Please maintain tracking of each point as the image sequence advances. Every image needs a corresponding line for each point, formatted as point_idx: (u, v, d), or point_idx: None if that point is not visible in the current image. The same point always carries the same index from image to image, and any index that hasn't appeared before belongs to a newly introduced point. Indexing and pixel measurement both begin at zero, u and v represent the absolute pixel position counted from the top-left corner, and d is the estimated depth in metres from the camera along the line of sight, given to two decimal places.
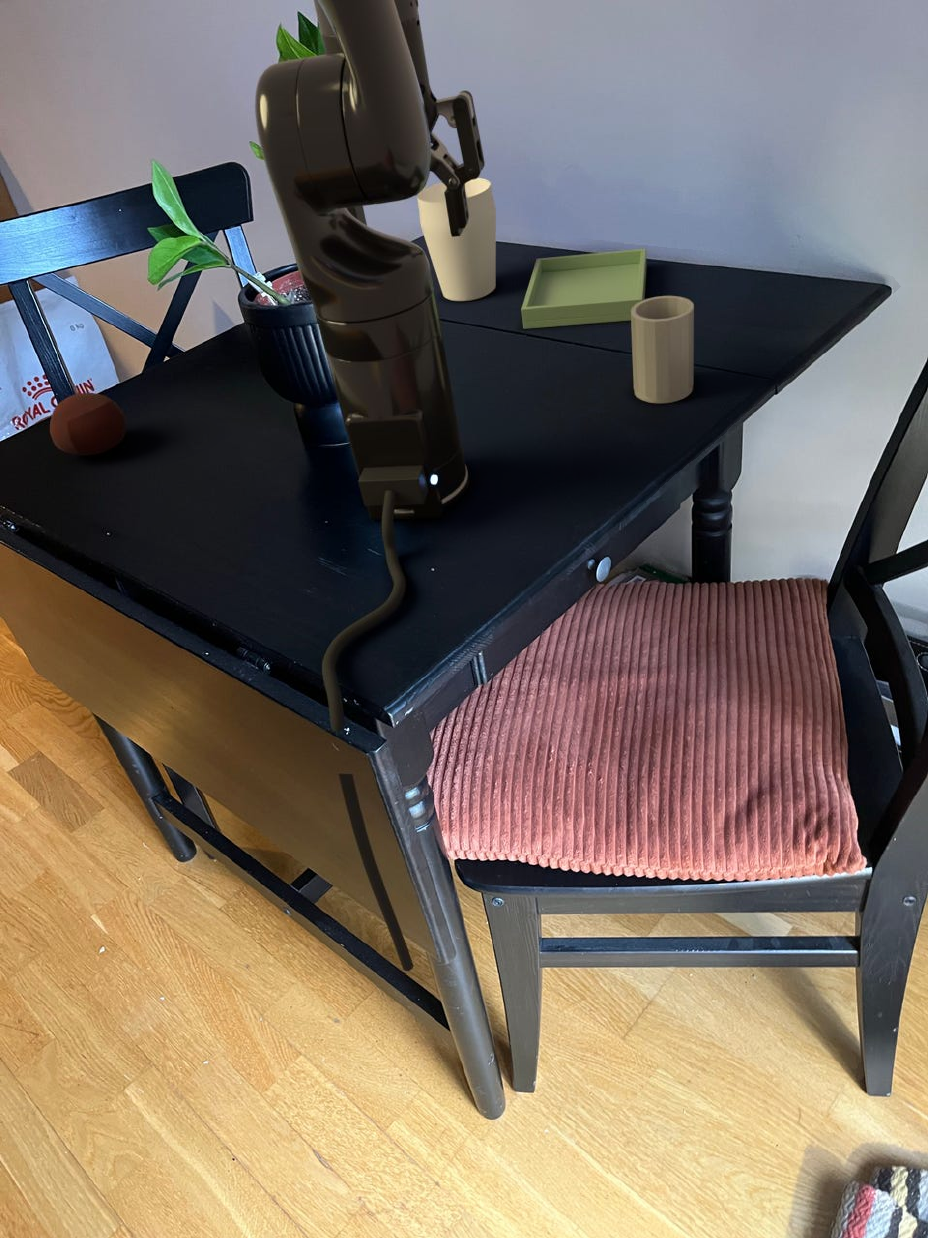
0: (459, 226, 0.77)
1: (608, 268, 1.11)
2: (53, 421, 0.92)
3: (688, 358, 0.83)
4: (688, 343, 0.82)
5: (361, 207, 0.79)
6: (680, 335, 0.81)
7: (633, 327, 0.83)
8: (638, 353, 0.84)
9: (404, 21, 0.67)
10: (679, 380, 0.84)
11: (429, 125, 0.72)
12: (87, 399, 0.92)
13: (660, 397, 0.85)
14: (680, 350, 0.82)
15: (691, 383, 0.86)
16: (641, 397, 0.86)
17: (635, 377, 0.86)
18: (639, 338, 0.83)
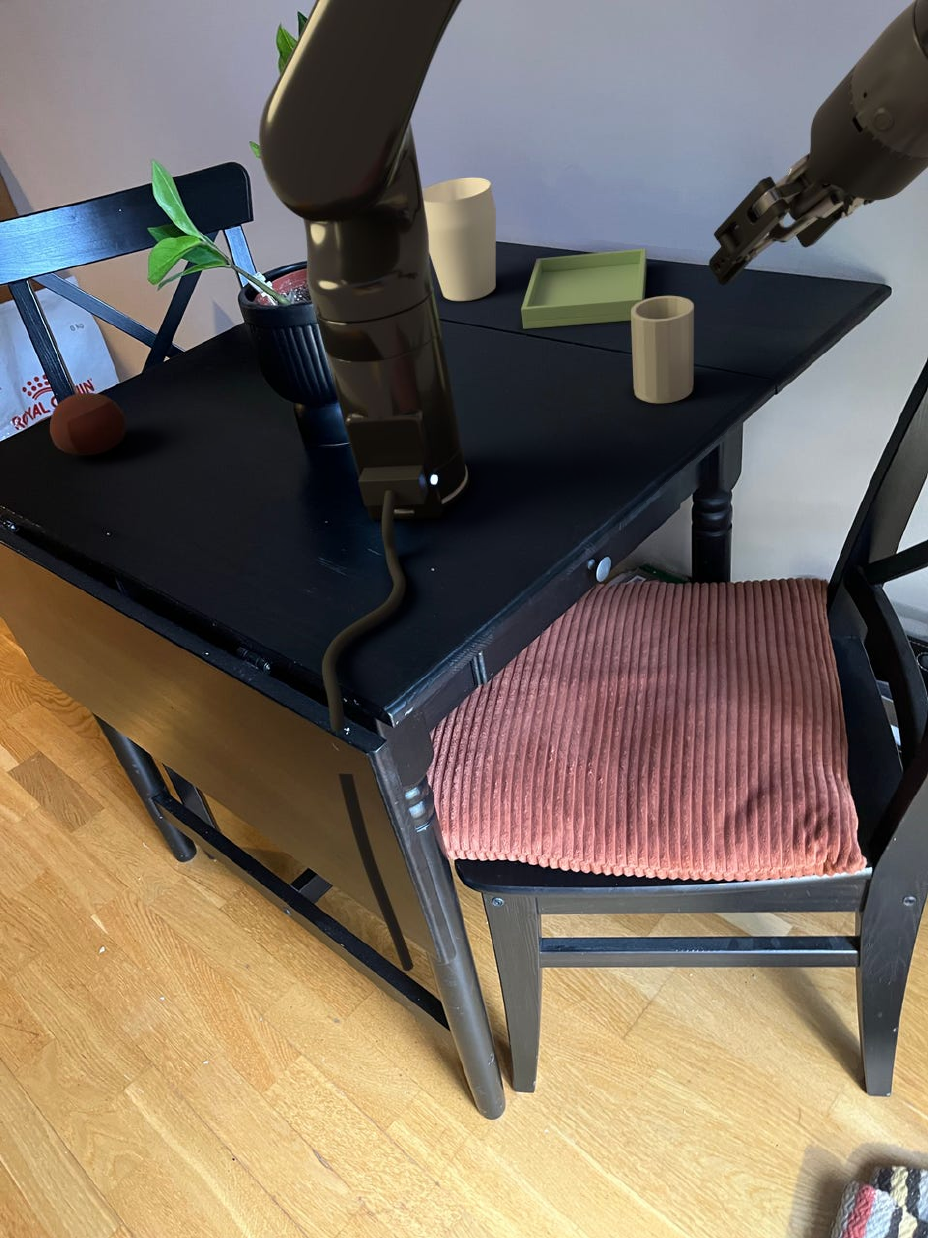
0: None
1: (608, 268, 1.11)
2: (53, 421, 0.92)
3: (688, 358, 0.83)
4: (688, 343, 0.82)
5: (823, 223, 0.69)
6: (680, 335, 0.81)
7: (633, 327, 0.83)
8: (638, 353, 0.84)
9: (852, 89, 0.54)
10: (679, 380, 0.84)
11: None
12: (87, 399, 0.92)
13: (660, 397, 0.85)
14: (680, 350, 0.82)
15: (691, 383, 0.86)
16: (641, 397, 0.86)
17: (635, 377, 0.86)
18: (639, 338, 0.83)
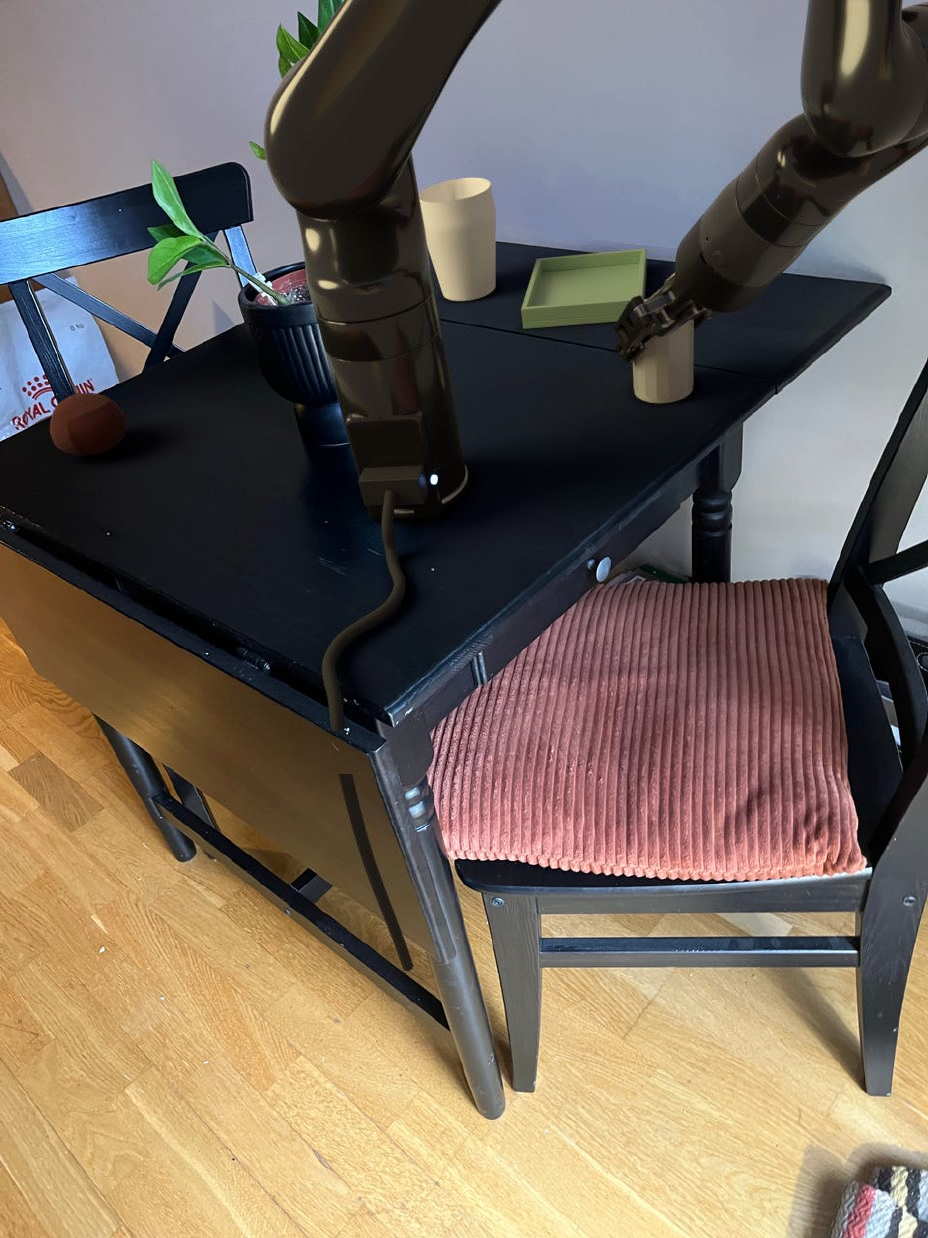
0: None
1: (608, 268, 1.11)
2: (53, 421, 0.92)
3: (688, 358, 0.83)
4: (688, 343, 0.82)
5: None
6: (680, 335, 0.81)
7: None
8: None
9: (700, 232, 0.69)
10: (679, 380, 0.84)
11: None
12: (87, 399, 0.92)
13: (660, 397, 0.85)
14: (680, 350, 0.82)
15: (691, 383, 0.86)
16: (641, 397, 0.86)
17: (635, 377, 0.86)
18: None
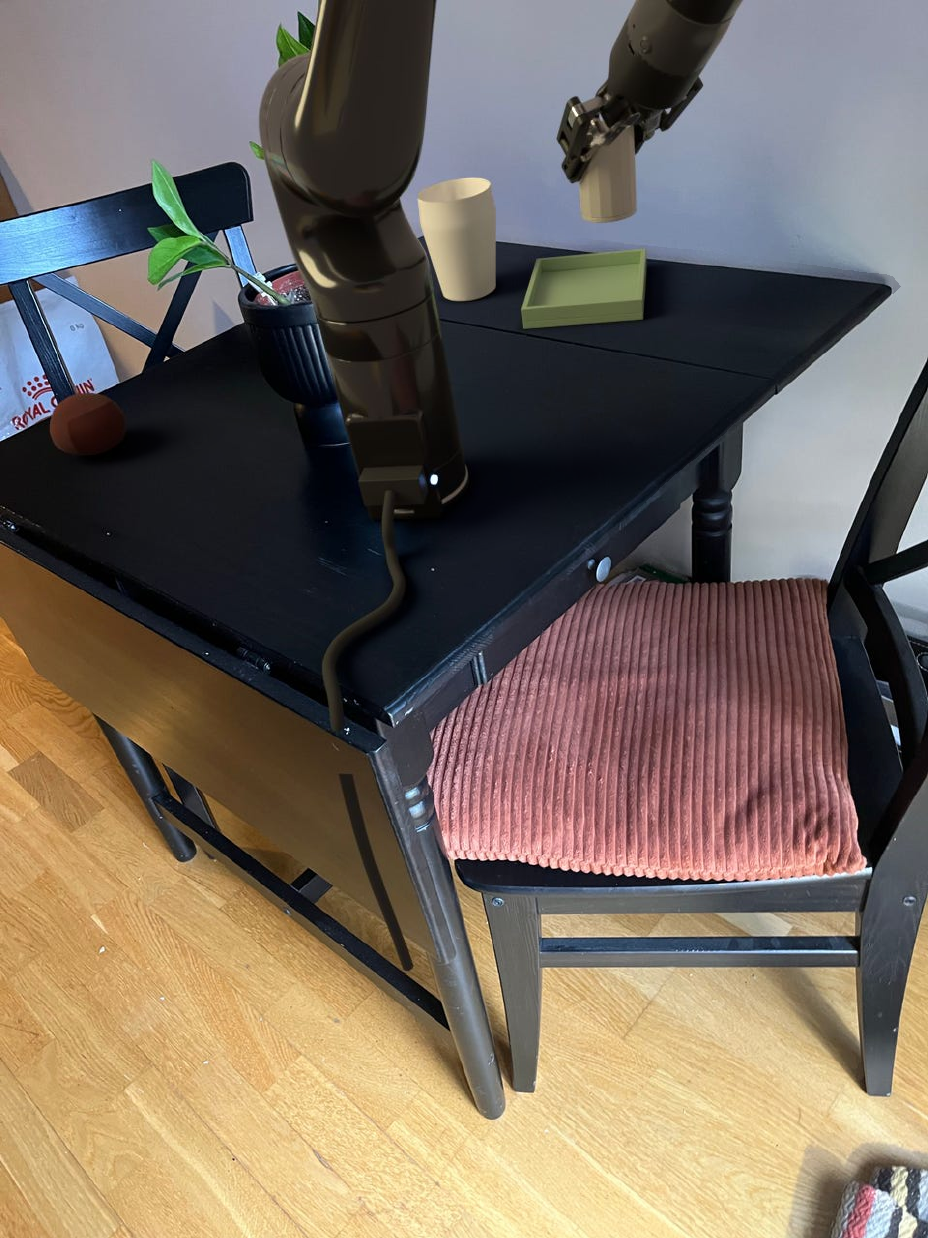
0: None
1: (608, 268, 1.11)
2: (53, 421, 0.92)
3: (629, 175, 0.88)
4: (629, 159, 0.87)
5: None
6: (620, 149, 0.86)
7: None
8: None
9: (628, 23, 0.74)
10: (621, 198, 0.89)
11: None
12: (87, 399, 0.92)
13: (604, 216, 0.90)
14: (621, 165, 0.87)
15: (634, 203, 0.90)
16: (587, 218, 0.91)
17: (581, 199, 0.91)
18: None
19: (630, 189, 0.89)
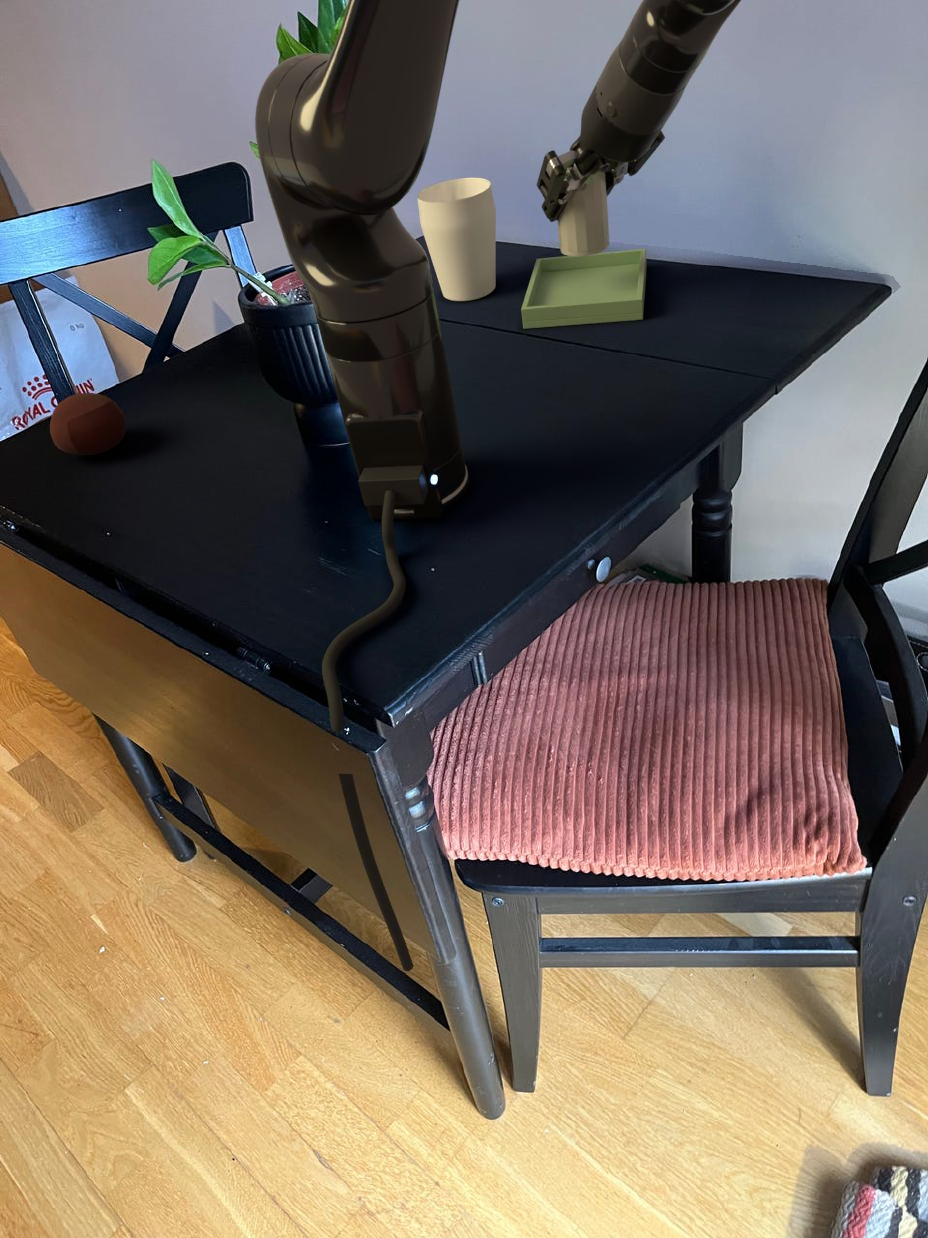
0: None
1: (608, 268, 1.11)
2: (53, 421, 0.92)
3: (602, 215, 1.00)
4: (601, 201, 0.99)
5: None
6: (593, 193, 0.97)
7: None
8: None
9: (596, 90, 0.86)
10: (595, 234, 1.00)
11: None
12: (87, 399, 0.92)
13: (580, 250, 1.01)
14: (594, 206, 0.98)
15: (606, 239, 1.02)
16: (565, 252, 1.02)
17: (560, 235, 1.02)
18: None
19: (603, 227, 1.00)
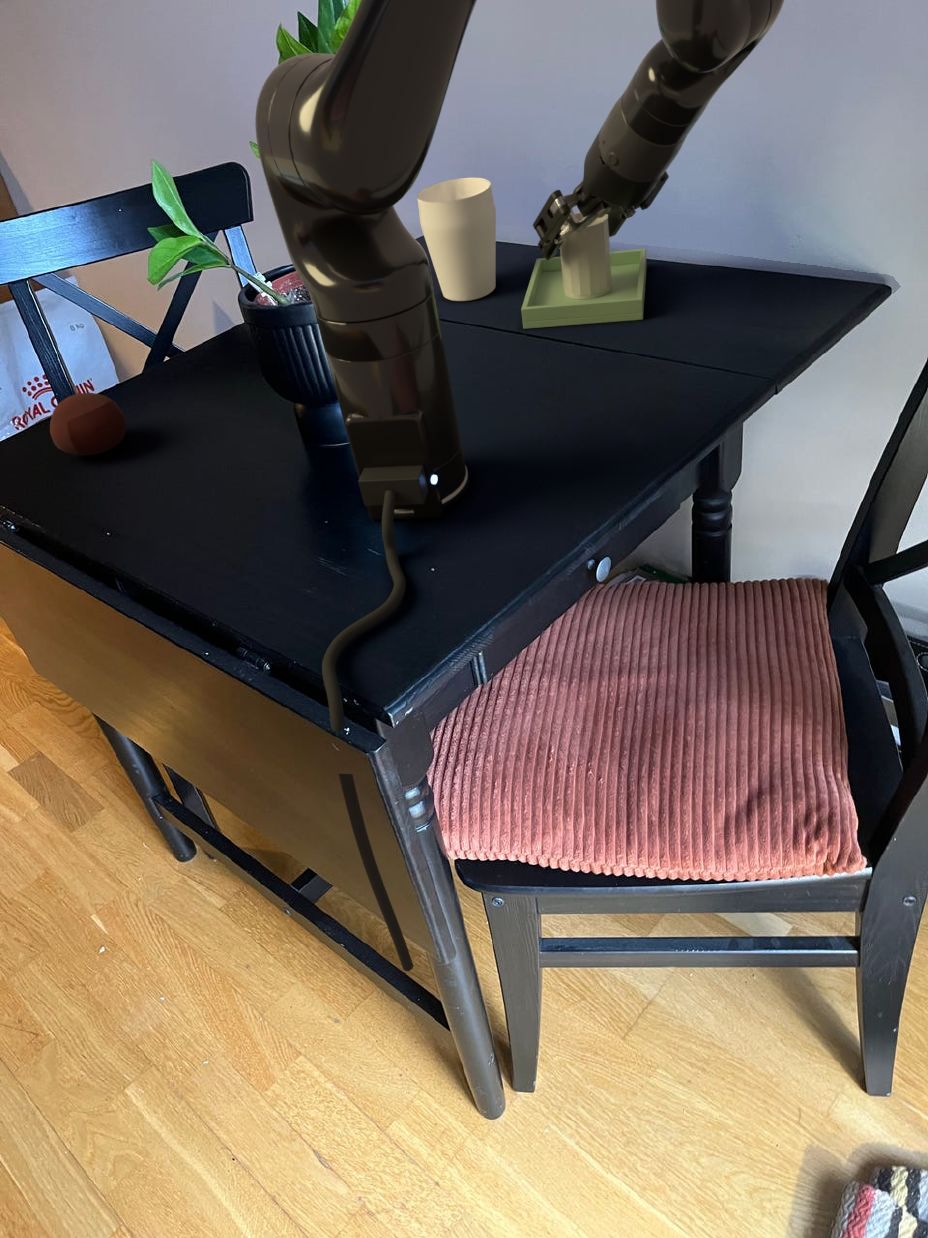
0: None
1: None
2: (53, 421, 0.92)
3: (605, 260, 1.03)
4: (604, 247, 1.02)
5: (616, 221, 1.03)
6: (596, 240, 1.01)
7: None
8: (564, 257, 1.03)
9: (599, 138, 0.88)
10: (598, 279, 1.03)
11: None
12: (87, 399, 0.92)
13: (583, 294, 1.04)
14: (597, 253, 1.01)
15: (609, 283, 1.05)
16: (569, 295, 1.06)
17: (564, 278, 1.05)
18: (564, 243, 1.02)
19: (605, 271, 1.03)
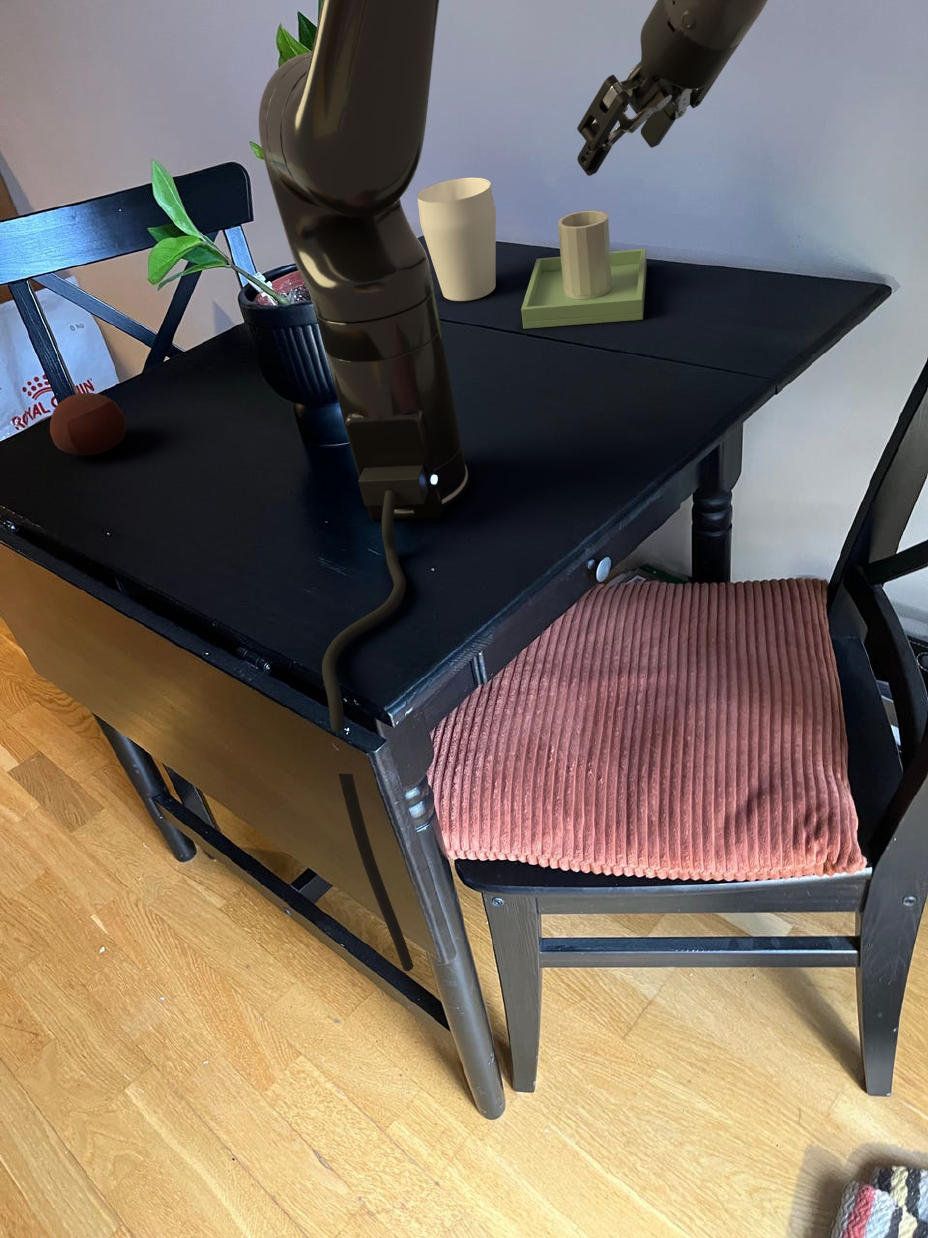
0: None
1: None
2: (53, 421, 0.92)
3: (605, 260, 1.03)
4: (604, 247, 1.02)
5: (663, 124, 0.87)
6: (596, 240, 1.01)
7: (560, 235, 1.02)
8: (564, 257, 1.03)
9: (665, 1, 0.72)
10: (598, 279, 1.03)
11: None
12: (87, 399, 0.92)
13: (583, 294, 1.04)
14: (597, 253, 1.01)
15: (609, 283, 1.05)
16: (569, 295, 1.06)
17: (564, 278, 1.05)
18: (564, 243, 1.02)
19: (605, 271, 1.03)
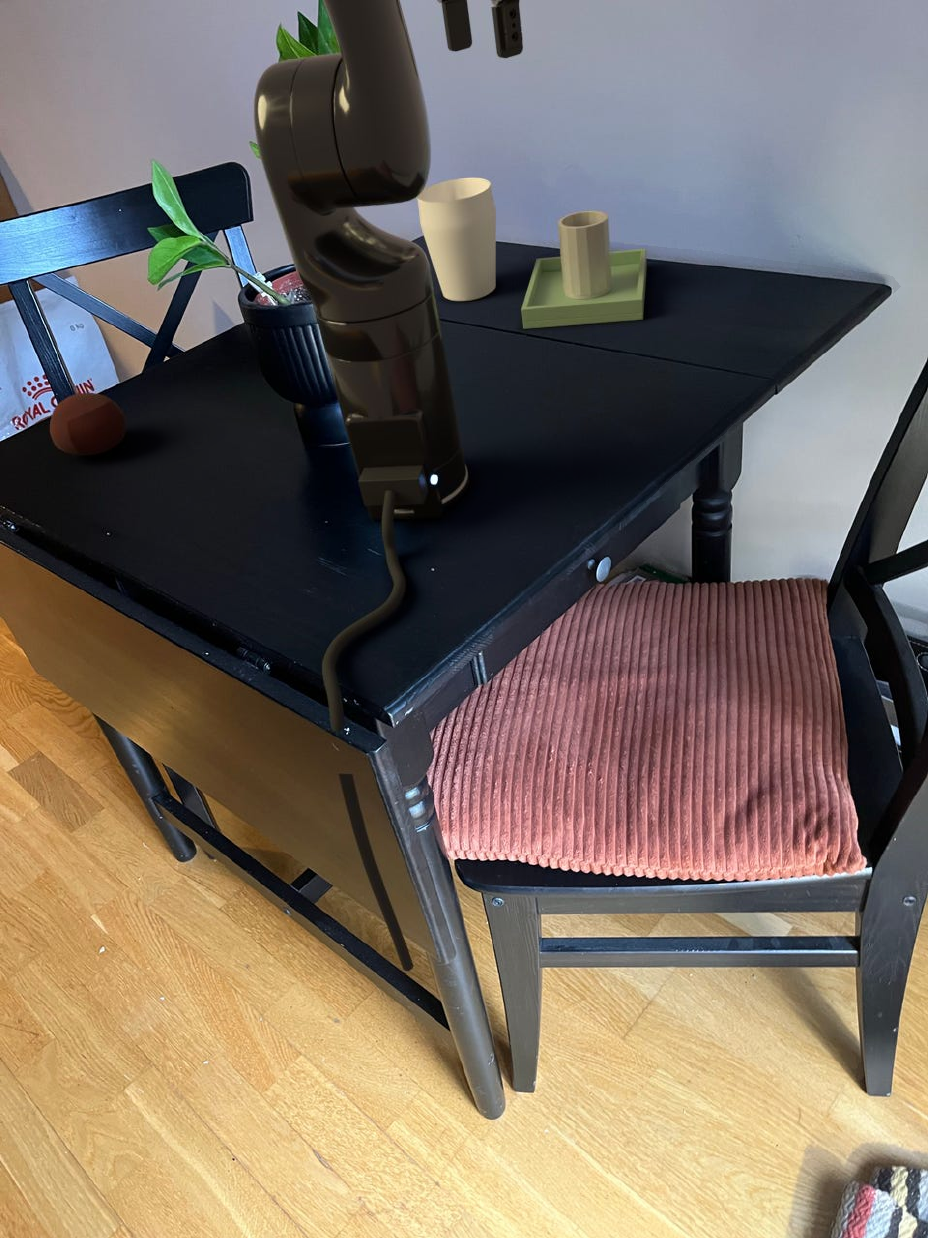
0: (504, 47, 0.76)
1: None
2: (53, 421, 0.92)
3: (605, 260, 1.03)
4: (604, 247, 1.02)
5: (463, 12, 0.82)
6: (596, 240, 1.01)
7: (560, 235, 1.02)
8: (564, 257, 1.03)
9: None
10: (598, 279, 1.03)
11: None
12: (87, 399, 0.92)
13: (583, 294, 1.04)
14: (597, 253, 1.01)
15: (609, 283, 1.05)
16: (569, 295, 1.06)
17: (564, 278, 1.05)
18: (564, 243, 1.02)
19: (605, 271, 1.03)
